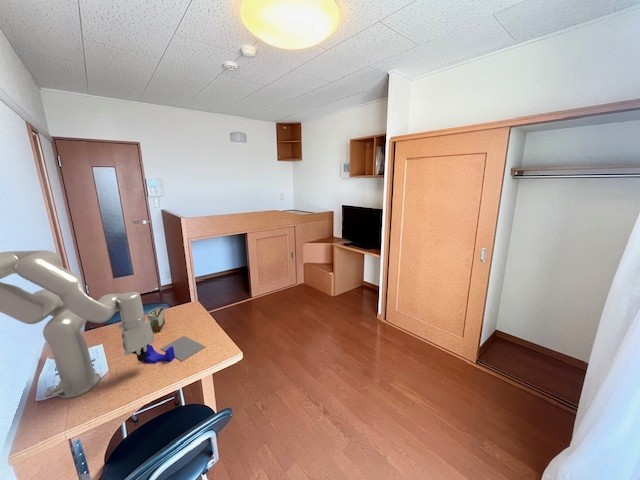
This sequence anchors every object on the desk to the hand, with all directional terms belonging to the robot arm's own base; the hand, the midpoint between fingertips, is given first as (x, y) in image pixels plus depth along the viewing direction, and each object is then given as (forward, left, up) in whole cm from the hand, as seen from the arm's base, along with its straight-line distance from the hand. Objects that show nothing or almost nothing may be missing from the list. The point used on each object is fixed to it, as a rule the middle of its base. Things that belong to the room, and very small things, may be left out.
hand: (142, 360), depth 110 cm
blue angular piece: (+7, +1, -6) cm, 9 cm away
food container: (+20, +30, -5) cm, 37 cm away
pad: (+17, 0, -5) cm, 18 cm away
